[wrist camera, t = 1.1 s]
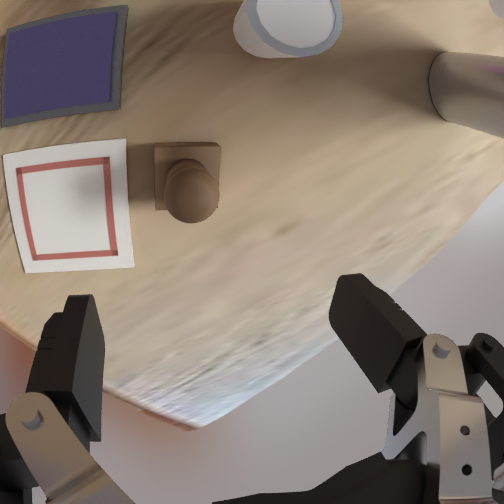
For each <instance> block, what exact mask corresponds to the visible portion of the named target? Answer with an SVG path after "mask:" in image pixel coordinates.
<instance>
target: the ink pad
mask: <svg viewBox="0 0 504 504" xmlns="http://www.w3.org/2000/svg"><path fill="white" fill-rule="evenodd" d="M128 9H129V8H128V5H122V6H112V7H104V8H96V9H89V10H83V11H77V12H72V13H67V14H62V15H57V16H53V17H48V18H44V19H40V20H36V21H33V22H29V23H26V24H22V25H19V26H16V27H13V28H9V29H7V33H6V40H5V48H4V58H3V70H2V92H1V120H2V127H7V126H11V125H16V124H20V123H25V122H30V121H36V120H41V119H47V118H53V117H59V116H66V115H73V114H81V113H89V112H99V111H109V110H120V109H121V85H122V67H123V54H124V43H125V33H126V25H127V17H128Z"/></svg>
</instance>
